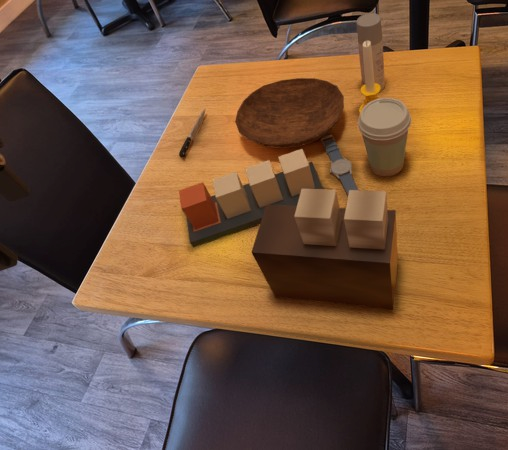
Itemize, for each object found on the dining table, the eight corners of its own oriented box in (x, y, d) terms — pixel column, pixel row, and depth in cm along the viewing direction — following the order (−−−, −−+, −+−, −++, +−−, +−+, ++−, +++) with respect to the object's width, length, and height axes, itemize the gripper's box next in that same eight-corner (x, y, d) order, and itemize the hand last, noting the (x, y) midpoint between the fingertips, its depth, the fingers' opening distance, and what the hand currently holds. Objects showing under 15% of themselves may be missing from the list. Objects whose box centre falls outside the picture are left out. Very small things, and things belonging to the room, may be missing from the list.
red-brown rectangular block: (215, 203, 80) (203, 181, 75) (218, 221, 77) (206, 200, 73) (192, 211, 80) (178, 190, 75) (195, 229, 77) (181, 208, 72)
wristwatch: (335, 133, 87) (334, 129, 86) (371, 206, 74) (371, 202, 74) (315, 140, 87) (314, 136, 86) (348, 214, 74) (347, 211, 74)
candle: (379, 121, 86) (374, 51, 74) (355, 116, 89) (346, 47, 76) (389, 104, 89) (386, 33, 76) (365, 100, 91) (359, 30, 79)
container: (383, 94, 91) (379, 26, 79) (360, 94, 92) (353, 27, 81) (386, 79, 94) (383, 12, 82) (364, 80, 95) (358, 13, 83)
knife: (206, 113, 99) (203, 106, 98) (209, 113, 99) (206, 106, 97) (182, 160, 91) (178, 153, 90) (185, 160, 91) (181, 154, 89)
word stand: (397, 261, 67) (394, 179, 52) (393, 309, 63) (388, 234, 48) (286, 253, 72) (254, 176, 57) (275, 297, 68) (237, 225, 53)
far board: (327, 200, 77) (320, 172, 71) (193, 247, 77) (175, 222, 71) (313, 167, 83) (305, 137, 77) (187, 210, 83) (170, 184, 77)
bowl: (255, 98, 99) (249, 80, 95) (352, 94, 93) (349, 74, 89) (231, 162, 88) (223, 144, 84) (340, 162, 82) (336, 143, 78)
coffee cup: (417, 174, 77) (419, 121, 67) (370, 187, 77) (364, 137, 68) (402, 142, 82) (401, 89, 72) (357, 155, 82) (350, 103, 73)
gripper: (-174, 48, 33) (-10, 189, 45) (-281, 177, 24) (-40, 307, 37) (-78, 15, 33) (59, 165, 45) (-150, 132, 24) (45, 278, 37)
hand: (15, 229), depth 41 cm, fingers open, 8 cm apart
